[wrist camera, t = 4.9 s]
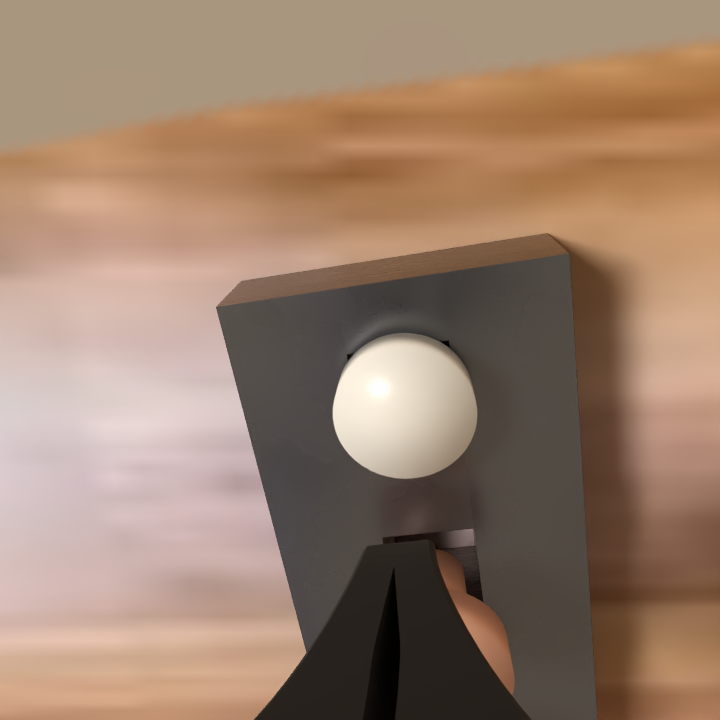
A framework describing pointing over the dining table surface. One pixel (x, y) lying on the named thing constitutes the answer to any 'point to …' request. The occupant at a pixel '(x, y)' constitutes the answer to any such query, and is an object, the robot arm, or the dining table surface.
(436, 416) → the knob
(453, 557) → the middle knob
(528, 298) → the knob plate
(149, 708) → the dining table surface
